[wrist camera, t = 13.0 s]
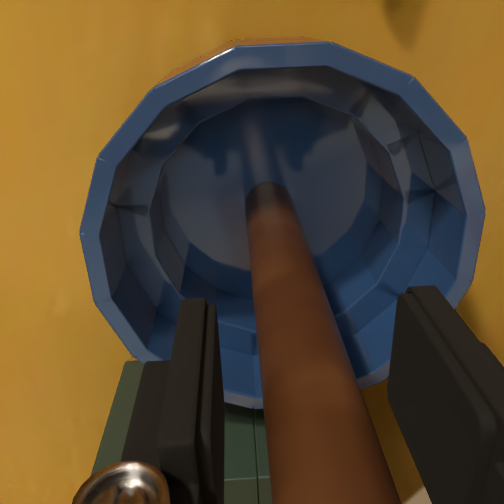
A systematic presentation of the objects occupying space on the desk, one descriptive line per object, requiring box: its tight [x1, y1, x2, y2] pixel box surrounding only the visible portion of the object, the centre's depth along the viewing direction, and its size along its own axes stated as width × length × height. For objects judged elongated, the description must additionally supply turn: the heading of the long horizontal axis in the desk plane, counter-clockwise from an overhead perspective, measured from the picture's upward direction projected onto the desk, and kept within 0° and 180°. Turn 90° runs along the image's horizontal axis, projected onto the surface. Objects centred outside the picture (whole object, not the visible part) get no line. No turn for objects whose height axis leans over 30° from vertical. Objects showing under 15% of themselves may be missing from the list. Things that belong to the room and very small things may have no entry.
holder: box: [90, 361, 272, 504], centre depth 22 cm, size 10×10×7 cm
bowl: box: [80, 36, 485, 409], centre depth 17 cm, size 12×12×6 cm
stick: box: [245, 182, 401, 504], centre depth 12 cm, size 2×2×15 cm
